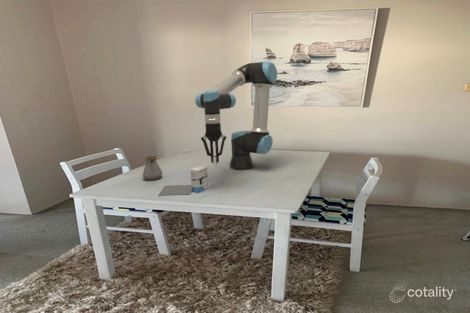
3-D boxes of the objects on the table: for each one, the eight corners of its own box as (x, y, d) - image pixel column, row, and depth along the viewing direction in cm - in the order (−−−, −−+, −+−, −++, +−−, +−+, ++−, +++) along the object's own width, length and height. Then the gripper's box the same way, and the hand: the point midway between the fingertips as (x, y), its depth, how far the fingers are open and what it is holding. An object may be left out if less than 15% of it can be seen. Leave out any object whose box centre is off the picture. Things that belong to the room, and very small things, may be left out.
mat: (194, 185, 163) (194, 184, 163) (190, 194, 150) (190, 193, 150) (165, 186, 164) (164, 185, 164) (158, 195, 150) (158, 195, 150)
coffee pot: (142, 177, 182) (139, 152, 178) (162, 174, 185) (159, 150, 182) (143, 188, 162) (140, 161, 158) (165, 185, 165) (162, 158, 162)
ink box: (199, 192, 152) (197, 170, 149) (191, 191, 154) (189, 169, 152) (209, 187, 159) (207, 166, 156) (201, 186, 161) (200, 165, 159)
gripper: (198, 124, 145) (201, 171, 150) (225, 123, 144) (227, 170, 150) (200, 122, 152) (203, 167, 158) (226, 121, 152) (228, 166, 157)
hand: (215, 168), depth 154 cm, fingers closed
